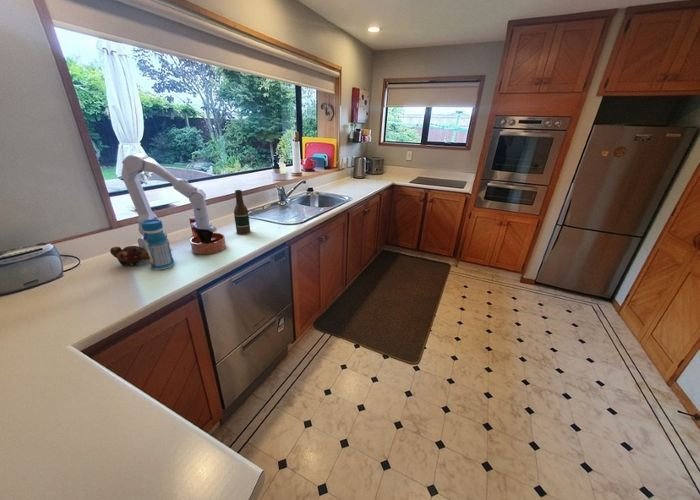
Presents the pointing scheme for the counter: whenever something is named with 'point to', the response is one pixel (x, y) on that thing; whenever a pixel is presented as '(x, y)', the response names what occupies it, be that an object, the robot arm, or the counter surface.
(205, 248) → the bowl
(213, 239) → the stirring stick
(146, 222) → the beverage bottle
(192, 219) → the canned food
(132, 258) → the decorative turtle
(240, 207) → the beer bottle
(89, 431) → the counter surface
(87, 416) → the counter surface
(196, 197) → the robot arm
